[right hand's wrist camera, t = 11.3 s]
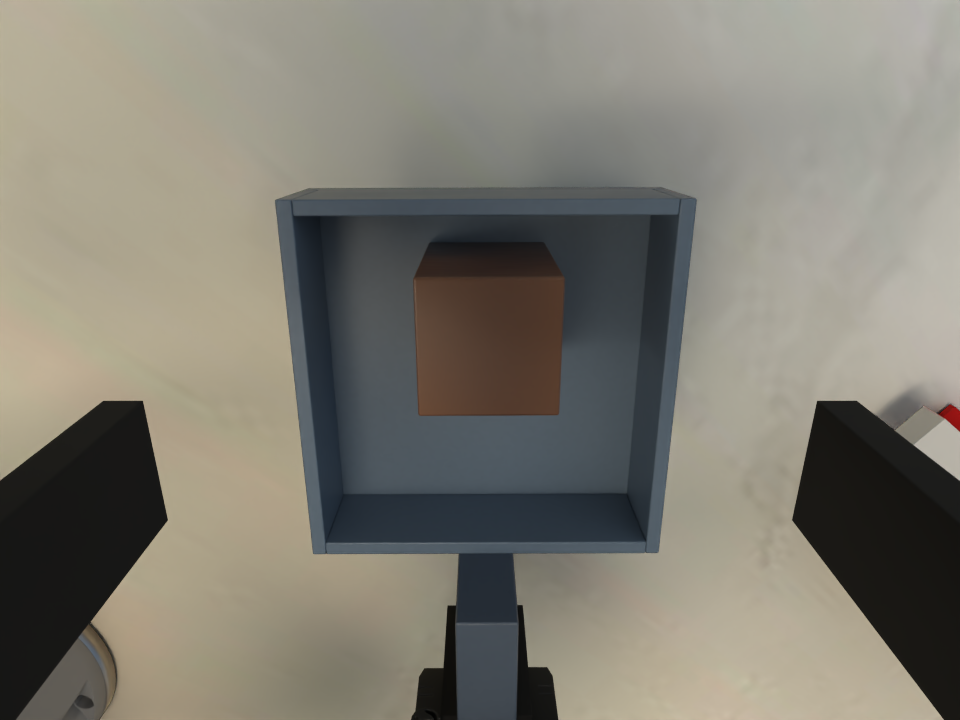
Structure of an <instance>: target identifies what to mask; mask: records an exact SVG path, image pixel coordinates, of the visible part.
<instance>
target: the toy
mask: <svg viewBox="0 0 960 720" xmlns="http://www.w3.org/2000/svg"><path fill="white" fill-rule="evenodd" d="M895 431H896V432H897V433H899V434H900V435H901V436H903V437H904V438H905V439H906V440H908V441H909V442H910V443H912V444H913V445H914V446H915V447H917V448H918V449H919V450H921V451H922V452H923V453H925V454H926V455H927V456H928V457H930V458H931V459H932V460H934V461H935V462H936V463H937V464H939V465H940V466H941V467H943V468H944V469H945V470H947V471H948V472H949V473H950V474H952V475H953V476H954V477H956V478H957V479H958V480H959V481H960V411H959V410H958V409H957V408H956V407H954V406H952V405H951V404H950V405H949V406H948V407H946V408H945V409H944V410H943V411H942V412H941V413H940V414H937V413H935V412H933V411H932V410H930V409H929V408H927V407H926V406H923V407H922V408H921V409H920V410H918V411H917V412H916V413H915V414H914V415H912V416H911V417H910V418H909V419H908V420H907V421H905V422H904V423H903V424H902V425H901V426H899V427H898V428H897V429H896V430H895Z"/></svg>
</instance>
